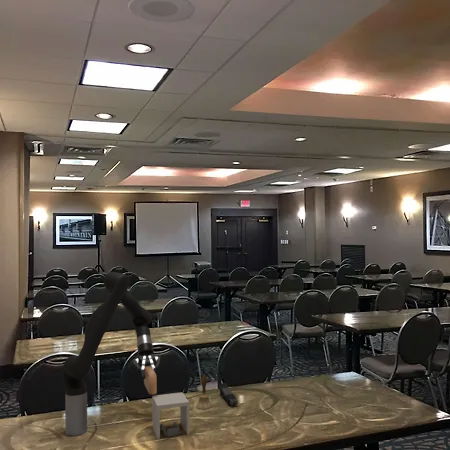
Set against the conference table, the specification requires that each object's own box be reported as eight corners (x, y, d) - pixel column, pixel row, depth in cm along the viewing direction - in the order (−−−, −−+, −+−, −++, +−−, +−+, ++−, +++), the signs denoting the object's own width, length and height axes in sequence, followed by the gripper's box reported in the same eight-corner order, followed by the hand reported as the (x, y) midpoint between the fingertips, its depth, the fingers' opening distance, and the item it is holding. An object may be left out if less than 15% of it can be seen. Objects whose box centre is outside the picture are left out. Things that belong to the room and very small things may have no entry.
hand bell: (209, 402, 249) (208, 371, 249) (214, 408, 241) (213, 376, 241) (194, 404, 246) (193, 373, 246) (198, 410, 238) (197, 377, 239)
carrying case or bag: (190, 402, 251) (179, 394, 264) (190, 396, 251) (179, 389, 264) (171, 406, 246) (161, 398, 259) (171, 400, 246) (161, 392, 259)
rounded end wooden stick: (157, 393, 217) (156, 376, 217) (149, 394, 215) (149, 377, 216) (151, 382, 234) (151, 365, 234) (144, 383, 233) (143, 366, 233)
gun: (224, 393, 263) (226, 377, 260) (236, 417, 245) (238, 401, 242) (217, 394, 261) (218, 378, 258) (228, 418, 243) (230, 402, 240)
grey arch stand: (157, 438, 204) (157, 405, 205) (152, 426, 217) (152, 395, 218) (189, 434, 208) (189, 401, 209) (182, 422, 222) (182, 392, 222)
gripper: (131, 343, 236) (134, 375, 224) (159, 340, 240) (164, 371, 228) (130, 351, 241) (133, 383, 229) (158, 349, 245) (163, 379, 233)
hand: (149, 377), depth 229 cm, fingers closed on rounded end wooden stick, 3 cm apart
